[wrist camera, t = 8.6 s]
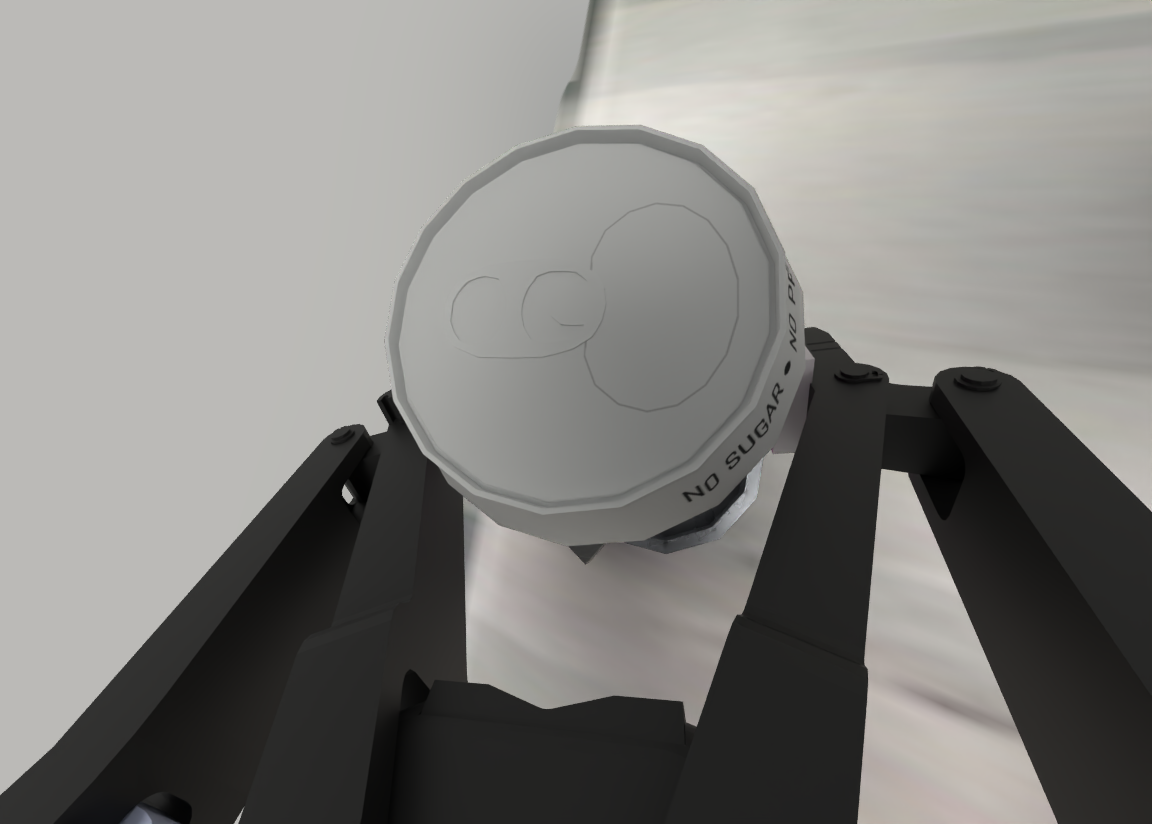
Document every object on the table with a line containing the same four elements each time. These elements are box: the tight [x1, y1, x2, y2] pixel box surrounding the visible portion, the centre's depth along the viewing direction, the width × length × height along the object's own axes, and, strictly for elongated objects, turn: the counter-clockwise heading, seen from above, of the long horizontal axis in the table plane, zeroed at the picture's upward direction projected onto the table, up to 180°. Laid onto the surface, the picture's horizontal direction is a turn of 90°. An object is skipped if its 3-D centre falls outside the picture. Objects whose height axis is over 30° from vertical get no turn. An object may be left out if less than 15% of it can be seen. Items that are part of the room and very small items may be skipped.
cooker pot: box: [568, 458, 763, 564], centre depth 31 cm, size 19×14×4 cm
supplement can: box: [384, 125, 806, 546], centre depth 14 cm, size 8×8×15 cm
